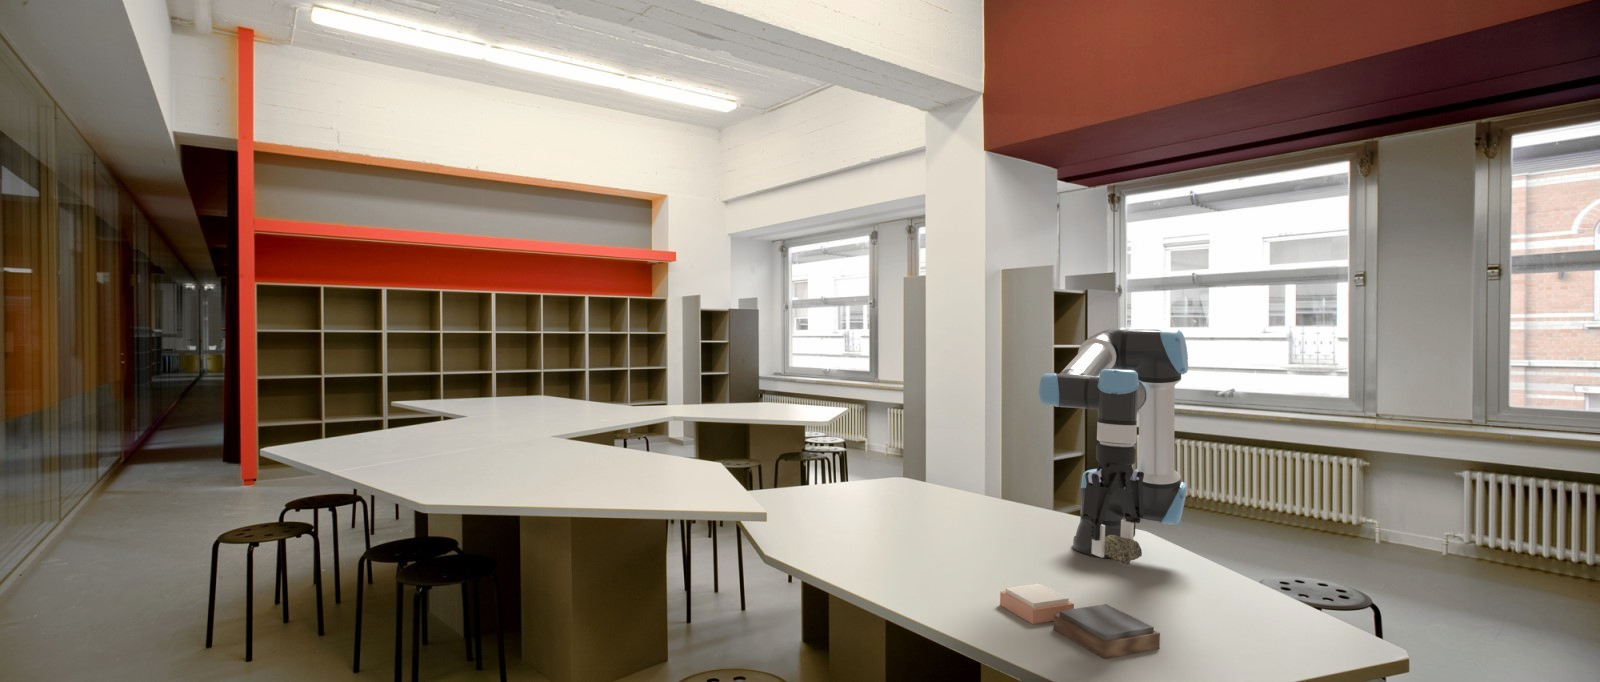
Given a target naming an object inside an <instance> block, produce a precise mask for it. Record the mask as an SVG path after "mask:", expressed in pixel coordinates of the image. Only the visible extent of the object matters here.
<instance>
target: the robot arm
mask: <svg viewBox="0 0 1600 682" xmlns="http://www.w3.org/2000/svg"><path fill="white" fill-rule="evenodd" d="M1188 356H1189V354H1188V348H1187V343H1186V339H1185V336H1184V334H1183V332H1182V331H1181V330H1179V329H1177V328H1165V327H1123V326H1122V327H1113V328H1109V329H1106V330H1102V331H1101V332H1097V333H1095V334H1093V335H1091V336H1090V337H1089V338H1087V339H1086V340H1084V341H1083V342H1082V344H1080V346H1079V348H1078V351H1077V354H1076V356H1075V357H1074V358H1073V359H1072V360H1071V361H1070V362H1069V363H1068V364H1067V365H1066V366H1065V368H1063V370H1061V372H1060V373H1056V372H1053V373H1044V374H1042V376H1041V377H1040V380H1039V386H1038V396H1039V400H1040V402H1041V403H1042V404H1043V405H1045V406H1052V407H1056V408H1059V407H1060V408H1070V409H1071V408H1074V409H1085V410H1088V409H1089V410H1097V423H1096V424H1097V425H1096V427H1097V428H1096V440H1097V441H1099V442H1098V443H1097V444H1096V446H1095V447H1096V448H1095V451H1096V453H1095V459H1096V461H1097V462H1098V467H1097V468H1092V469H1088V470H1086V471H1084V472H1083V474H1082V477H1081V485H1080V489H1081V490H1080V520H1079V524H1078V526H1077V528H1076V533H1075V535H1074V537H1073V540H1072V547H1073V549H1074V550H1076V551H1077V552H1079V553H1082V554H1084V555H1087V556H1093V557H1098V558H1103V559H1111V558H1110V557H1108V555H1104V549H1105V537H1107V536H1109V535H1116V536H1120V537H1122V538H1128V539H1132V540H1134V537H1136V524H1140V523H1141V522H1142V521H1146V522H1150V523H1157V524H1159V525H1162V524H1165V525H1175V526H1176V525H1177V524H1179V523H1180V522H1181V520H1182V519H1181V518H1182V517H1183V512H1184V507H1185V502H1186V496H1187V492H1188V491H1187V489H1188V487H1187V486H1188V484H1187V483H1186V482H1184V481H1182V478H1181V477H1182V476H1181V474H1180V473H1179V472H1178V471H1177V470H1175V407H1176V406H1175V399H1176V398H1175V391H1176V390H1175V389H1176V388H1175V386H1176V385H1177V384H1178V383H1179V382H1181V381H1182V375H1185V374H1187V373H1188V370H1189V361H1188V359H1189V357H1188ZM1137 415H1138V419H1137ZM1137 420H1138V421H1137ZM1137 422H1138V423H1137ZM1137 427H1138V429H1137ZM1137 430H1138V431H1137ZM1137 432H1138V467H1137V468H1136V469H1134V467H1133V465H1135V463H1136V453H1137V447H1136V446H1135V444H1136V443H1137Z"/></svg>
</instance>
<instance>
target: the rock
mask: <svg viewBox="0 0 1600 682" xmlns="http://www.w3.org/2000/svg"><path fill="white" fill-rule="evenodd" d="M1142 553H1143V552H1142V548H1141V546H1140V543H1139V542H1138V541H1137V540H1134V539H1133V540H1132V539H1128V538H1122V537H1120V536H1116V535H1109V536H1107V537H1105V549H1104V555H1108V557H1110V558H1109V559H1113V560H1115V561H1117V562H1120V563H1121V564H1123V565H1131V561H1136V560H1137V559H1139V558H1141V557H1143V554H1142Z"/></svg>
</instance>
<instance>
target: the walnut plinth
mask: <svg viewBox="0 0 1600 682" xmlns="http://www.w3.org/2000/svg"><path fill="white" fill-rule="evenodd" d="M1053 630H1054V631H1056V632H1058V633H1059V634H1061V635H1063V636H1065V637H1066V638H1068V639H1070V640H1071V641H1073V642H1075V643H1077V644H1078V645H1080V646H1082V647H1083V648H1085V649H1087V650H1088V651H1091V652H1092V653H1094V654H1096V656H1097V655H1098V656H1099V657H1101V659H1102V658H1103V659H1104V660H1106V659H1109V658H1110V659H1111V658H1116V657H1121V656H1127V655H1132V654H1136V653H1142V652H1147V651H1153V650H1157V649H1160V646H1161V645H1160V643H1161V632H1157V631H1156V630H1155V629H1154V626H1152V625H1150V624H1149V623H1146V622H1144V621H1142V620H1140V619H1138V618H1136V617H1134V616H1132V615H1130V614H1128V613H1125V612H1123V611H1121V610H1119V609H1117V608H1115V607H1113V606H1111V605H1109V604H1108V603H1104V604H1098V605H1097V604H1096V605H1090V606H1083V607H1079V608H1078V607H1077V608H1074V609H1070V610H1064V611H1060V614H1056V615H1054V621H1053Z"/></svg>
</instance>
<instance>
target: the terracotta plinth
mask: <svg viewBox="0 0 1600 682" xmlns="http://www.w3.org/2000/svg"><path fill="white" fill-rule="evenodd" d="M999 597H1000V598H999V605H1000V606H1002V607H1003V608H1004V609H1006V610H1008V611H1009V612H1011V613H1013V614H1015V615H1016V616H1019V618H1022V619H1023V620H1025V621H1027V622H1028V623H1030V624H1031V625H1035V624H1041V623H1042V624H1043V623H1046V622H1048V623H1049V622H1054V615H1056V614H1060V611H1064V610H1070V609H1075V603H1073V602H1072V601H1070V599H1069V597H1066V596H1065V595H1063V594H1060V593H1059V592H1057V591H1055V590H1053V589H1051V588H1049V587H1047V586H1045V585H1043V584H1041V583H1033V584H1027V585H1026V584H1025V585H1019V586H1012V587H1005V590H1002V591H1000V594H999Z"/></svg>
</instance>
